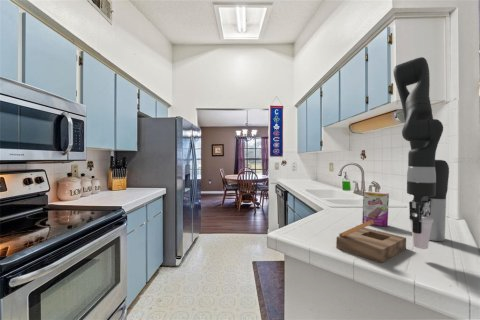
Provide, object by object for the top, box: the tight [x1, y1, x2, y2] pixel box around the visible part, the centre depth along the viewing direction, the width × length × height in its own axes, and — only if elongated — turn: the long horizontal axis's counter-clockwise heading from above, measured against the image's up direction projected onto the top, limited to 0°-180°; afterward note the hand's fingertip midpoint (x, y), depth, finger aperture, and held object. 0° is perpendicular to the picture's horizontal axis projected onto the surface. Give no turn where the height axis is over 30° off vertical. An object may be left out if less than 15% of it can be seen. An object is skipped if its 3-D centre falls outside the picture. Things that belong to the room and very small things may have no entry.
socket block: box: [335, 227, 407, 264], centre depth 85 cm, size 22×15×4 cm
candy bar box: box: [361, 190, 390, 228], centre depth 118 cm, size 11×5×16 cm, turn 58°
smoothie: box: [408, 215, 433, 250], centre depth 77 cm, size 6×6×14 cm
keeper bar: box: [338, 220, 374, 237], centre depth 82 cm, size 3×13×1 cm
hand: (420, 230), depth 77 cm, fingers closed on smoothie, 6 cm apart
